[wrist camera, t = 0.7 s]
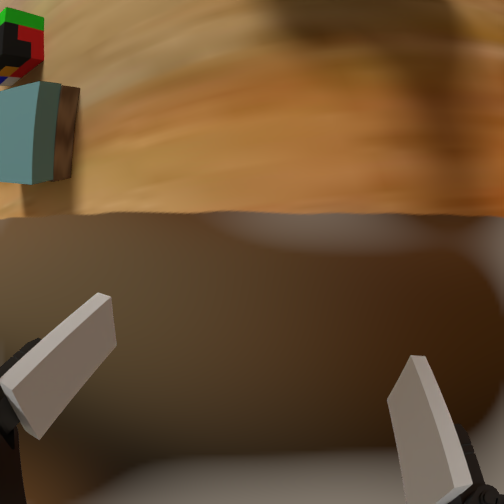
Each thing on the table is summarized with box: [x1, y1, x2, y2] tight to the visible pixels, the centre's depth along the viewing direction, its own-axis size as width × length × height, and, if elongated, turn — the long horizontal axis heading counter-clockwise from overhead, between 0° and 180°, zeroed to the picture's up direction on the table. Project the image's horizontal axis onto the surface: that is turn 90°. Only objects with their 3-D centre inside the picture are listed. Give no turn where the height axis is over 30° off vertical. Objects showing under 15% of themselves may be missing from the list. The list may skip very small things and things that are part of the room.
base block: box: [49, 85, 80, 182], centre depth 37 cm, size 14×14×4 cm
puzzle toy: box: [0, 7, 44, 86], centre depth 29 cm, size 10×10×10 cm
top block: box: [0, 81, 61, 185], centre depth 32 cm, size 14×14×4 cm
